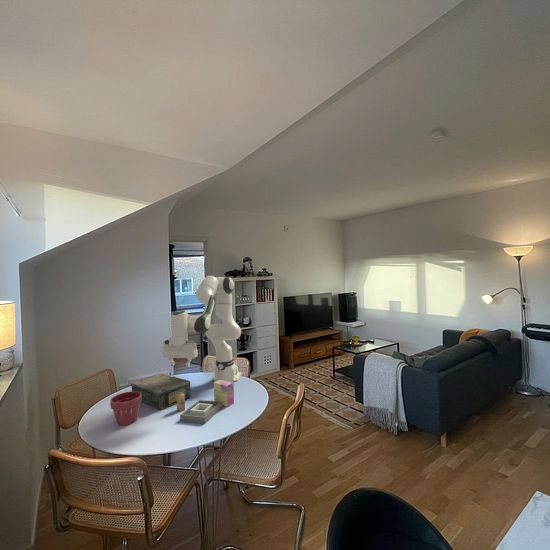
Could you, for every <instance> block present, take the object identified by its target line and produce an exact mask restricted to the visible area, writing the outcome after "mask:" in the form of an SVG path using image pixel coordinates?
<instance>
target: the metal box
mask: <svg viewBox="0 0 550 550" xmlns="http://www.w3.org/2000/svg"><path fill="white" fill-rule="evenodd" d="M130 387H131V391H138V392H140V393H141V395H142V401H141V403H143V404H145V405H147V406H151V407H154V408H155V409H158V410H161V411H163V410H165V409H167V408H169V407H173V406H174V405H177V395H178V394H184V398H185V400H187V399H190V397H191V381H190V380H188V379H184V378H179V377H176V376H173V375H172V376H171V375H167V374H166V373H156V374H154V375H150V376H147V377H144V378H141V379H139V380H136V381H134V382H131V383H130Z"/></svg>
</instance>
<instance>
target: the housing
mask: <svg viewBox="0 0 550 550" xmlns="http://www.w3.org/2000/svg"><path fill="white" fill-rule="evenodd" d="M222 407H223V405H222V402H218V401H214V400H206V399H204V400H203V399H198V400H197V401H196V402H194V404H192V405H191V406H189V407H188V408H187V409H185V410H184V411H182V413H181V414H179V418H180V419H179V421H180V422H186V423H195V424H203V425H204V424H205V425H206V424H207V423H208V421H210V419H212V418H213V416H215V415H216V414H217V413H218V412H219V411H220V410H221V409H222Z"/></svg>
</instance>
